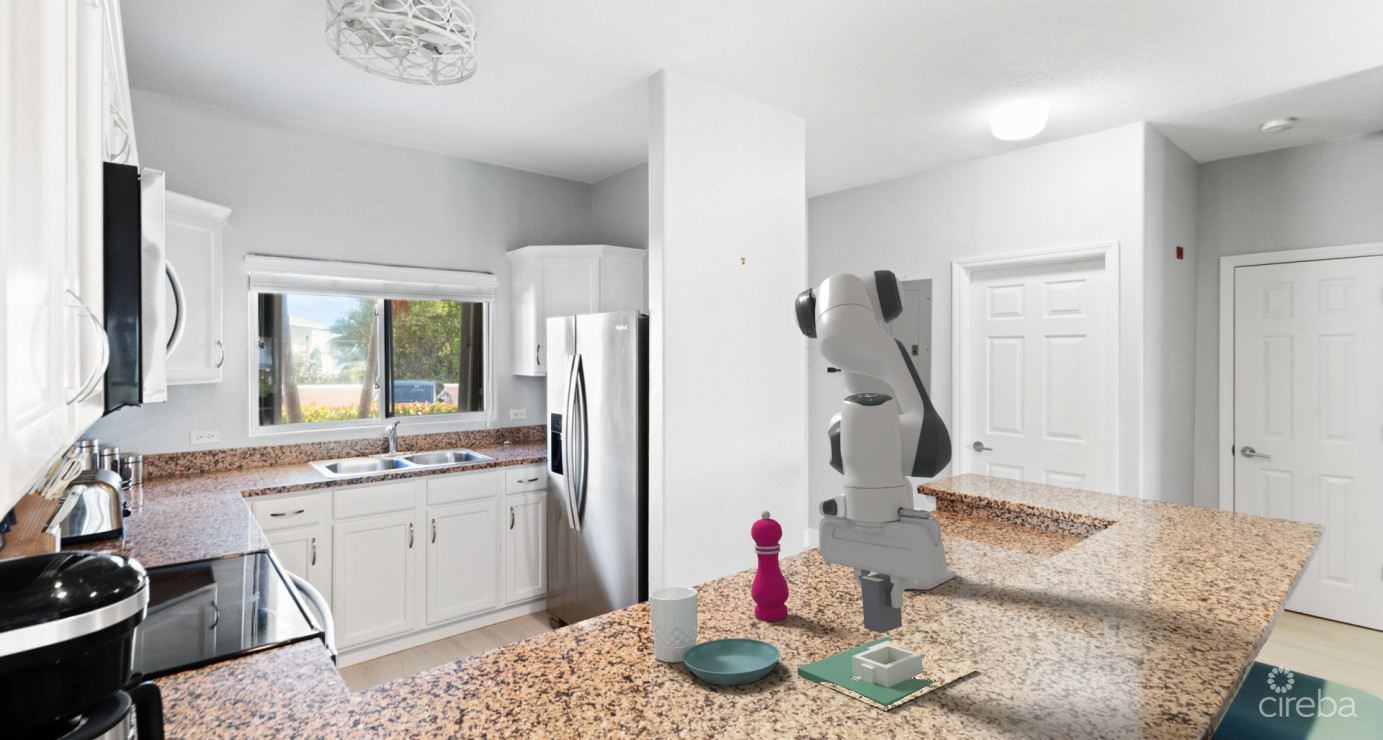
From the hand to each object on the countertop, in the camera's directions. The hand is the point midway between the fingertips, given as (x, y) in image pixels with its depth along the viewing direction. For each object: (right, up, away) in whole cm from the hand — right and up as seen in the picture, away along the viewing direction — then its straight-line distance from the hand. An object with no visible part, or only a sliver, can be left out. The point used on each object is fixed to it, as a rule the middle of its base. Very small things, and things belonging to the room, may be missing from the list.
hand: (882, 603), depth 93 cm
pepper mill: (-12, -14, +32) cm, 37 cm away
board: (+1, -11, +2) cm, 11 cm away
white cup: (-30, -14, +13) cm, 35 cm away
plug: (0, -3, 0) cm, 3 cm away
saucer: (-21, -13, +6) cm, 25 cm away
